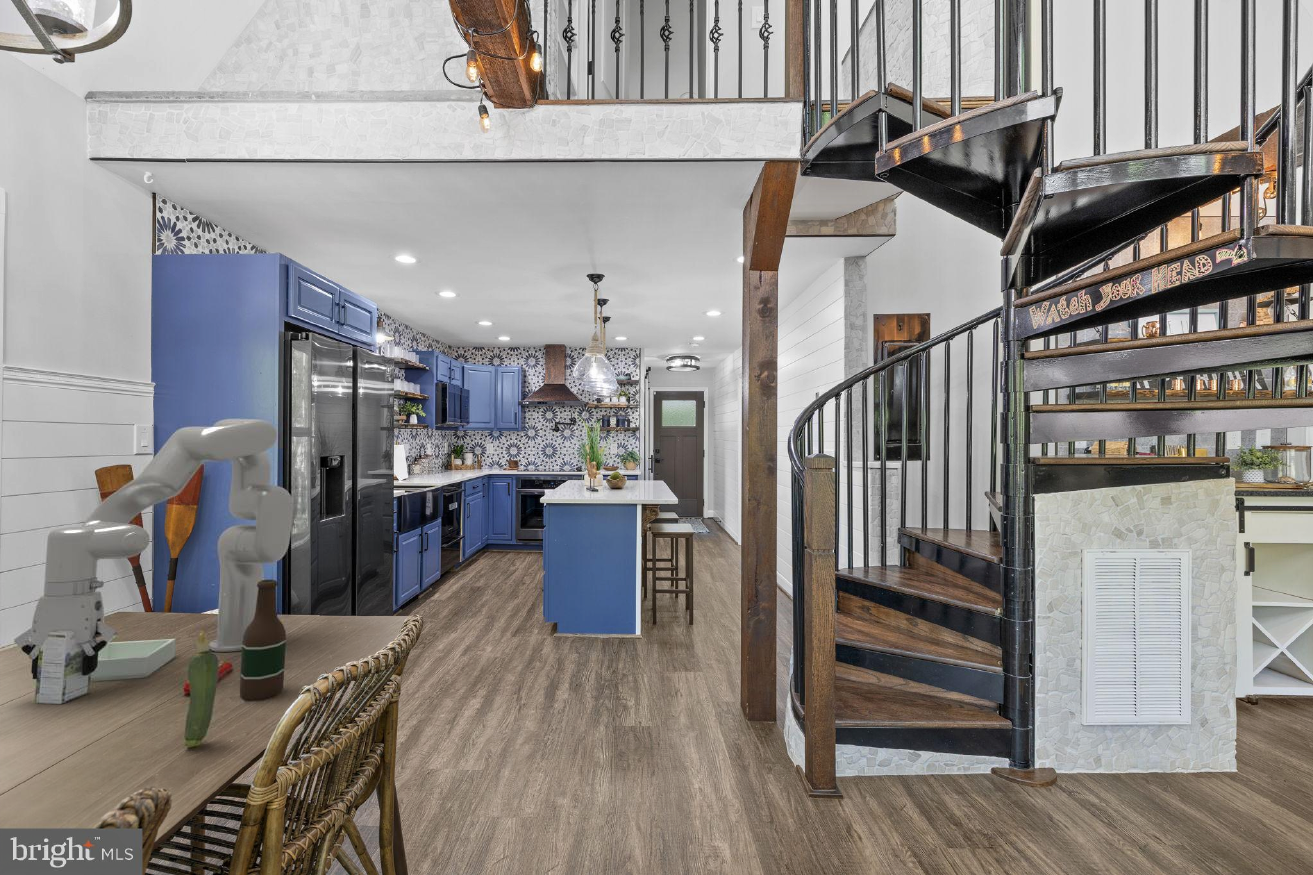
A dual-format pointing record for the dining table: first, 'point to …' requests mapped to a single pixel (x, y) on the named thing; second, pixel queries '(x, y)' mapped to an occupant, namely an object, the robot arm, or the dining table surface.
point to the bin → (132, 659)
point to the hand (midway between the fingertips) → (64, 674)
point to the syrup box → (60, 669)
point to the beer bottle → (263, 648)
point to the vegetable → (201, 692)
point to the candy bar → (223, 670)
